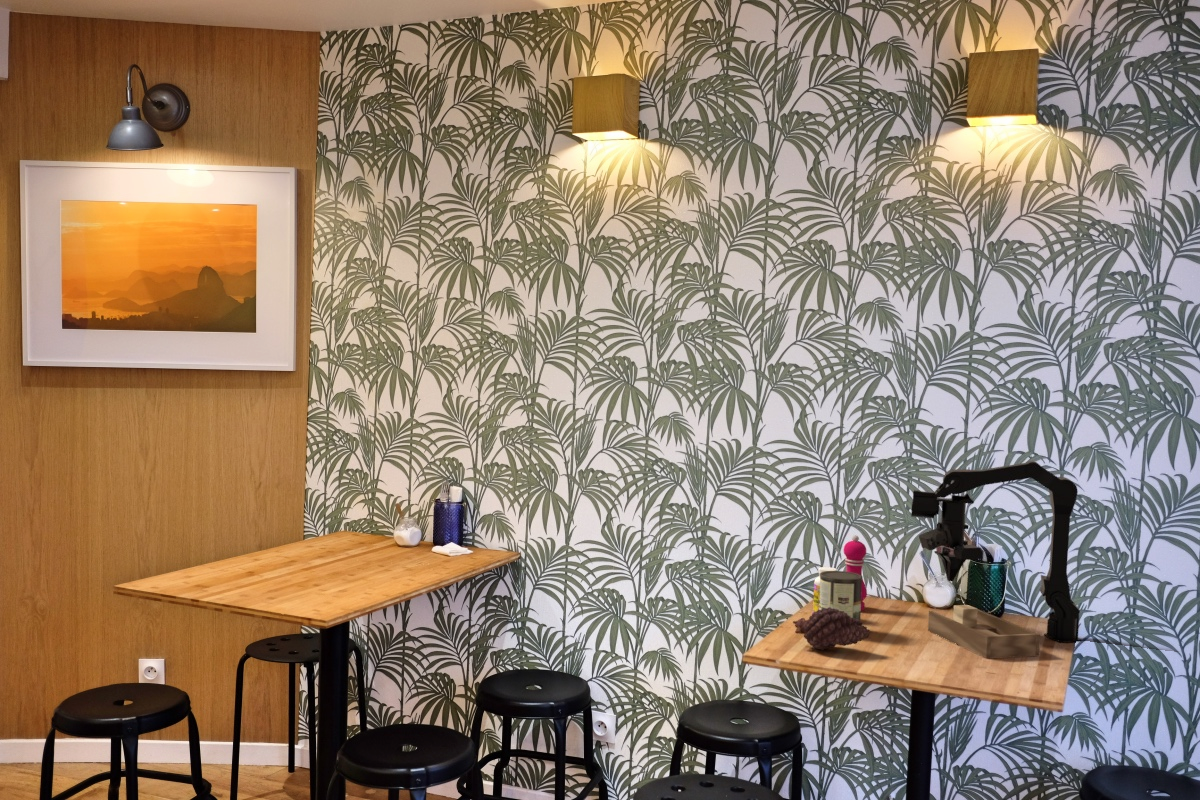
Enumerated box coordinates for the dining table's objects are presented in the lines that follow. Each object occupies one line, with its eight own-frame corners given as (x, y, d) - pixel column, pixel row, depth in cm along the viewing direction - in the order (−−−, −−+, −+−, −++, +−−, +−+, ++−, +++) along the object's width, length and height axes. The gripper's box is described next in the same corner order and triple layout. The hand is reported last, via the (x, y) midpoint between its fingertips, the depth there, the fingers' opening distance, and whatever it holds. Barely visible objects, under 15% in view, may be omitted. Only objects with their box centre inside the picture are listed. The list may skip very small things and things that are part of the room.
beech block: (967, 622, 263) (967, 604, 263) (976, 626, 259) (977, 608, 259) (952, 623, 262) (953, 605, 262) (962, 627, 258) (963, 609, 258)
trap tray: (976, 628, 267) (977, 609, 267) (1039, 655, 244) (1040, 634, 244) (927, 630, 264) (928, 611, 263) (986, 658, 240) (987, 636, 240)
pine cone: (870, 649, 245) (872, 606, 245) (867, 660, 236) (869, 616, 235) (793, 640, 251) (795, 599, 250) (787, 651, 241) (789, 608, 241)
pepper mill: (866, 612, 280) (870, 538, 280) (839, 610, 282) (842, 536, 281) (865, 606, 288) (868, 533, 287) (838, 604, 289) (841, 532, 288)
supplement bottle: (807, 615, 276) (809, 566, 275) (829, 613, 278) (831, 565, 278) (821, 621, 270) (823, 571, 269) (843, 620, 272) (845, 570, 271)
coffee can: (844, 624, 267) (846, 569, 267) (868, 635, 258) (871, 578, 257) (809, 627, 264) (811, 571, 263) (833, 638, 254) (835, 580, 253)
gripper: (905, 514, 273) (902, 573, 274) (946, 526, 255) (943, 590, 256) (942, 513, 276) (940, 572, 277) (986, 525, 258) (983, 588, 259)
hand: (950, 580), depth 267 cm, fingers closed
